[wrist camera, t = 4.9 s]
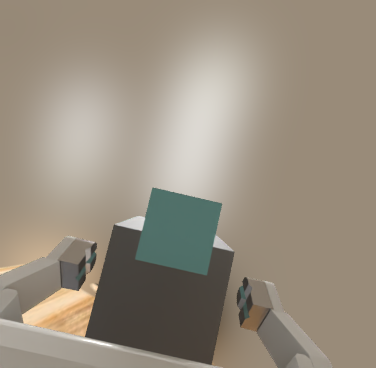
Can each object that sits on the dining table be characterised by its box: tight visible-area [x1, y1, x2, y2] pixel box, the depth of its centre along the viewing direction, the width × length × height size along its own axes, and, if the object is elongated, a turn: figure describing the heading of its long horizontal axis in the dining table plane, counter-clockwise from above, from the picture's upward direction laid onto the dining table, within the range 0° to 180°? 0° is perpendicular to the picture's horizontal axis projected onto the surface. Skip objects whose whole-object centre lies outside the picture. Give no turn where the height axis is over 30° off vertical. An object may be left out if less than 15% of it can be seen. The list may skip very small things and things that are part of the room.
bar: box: [135, 188, 222, 275], centre depth 24 cm, size 24×4×4 cm, turn 2°
